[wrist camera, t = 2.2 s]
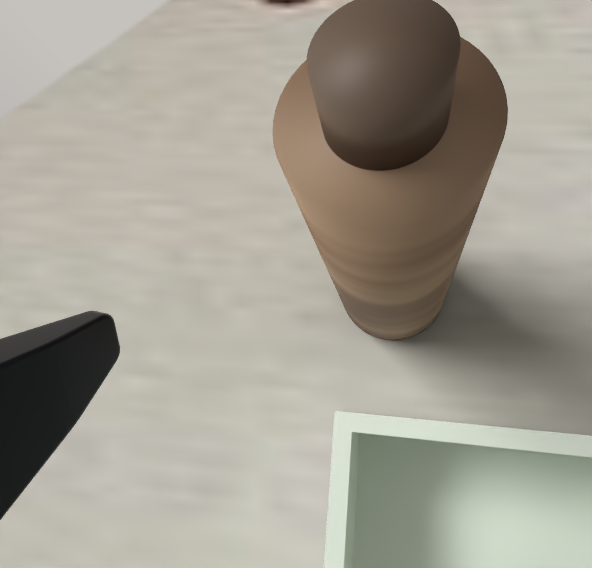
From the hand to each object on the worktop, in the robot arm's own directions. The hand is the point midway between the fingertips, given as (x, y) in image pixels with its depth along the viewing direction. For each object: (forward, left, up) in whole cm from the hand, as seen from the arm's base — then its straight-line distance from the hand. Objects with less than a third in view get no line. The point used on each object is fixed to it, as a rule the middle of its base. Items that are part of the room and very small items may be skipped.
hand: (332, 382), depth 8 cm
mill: (+5, -1, -11) cm, 13 cm away
